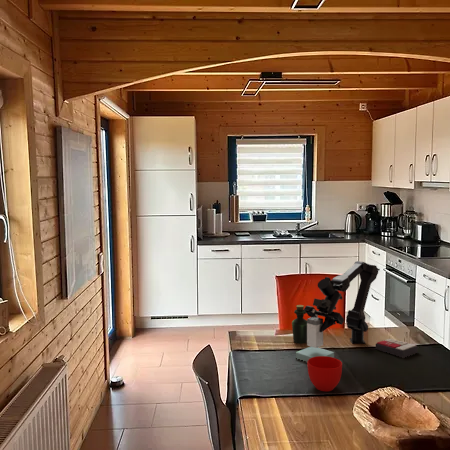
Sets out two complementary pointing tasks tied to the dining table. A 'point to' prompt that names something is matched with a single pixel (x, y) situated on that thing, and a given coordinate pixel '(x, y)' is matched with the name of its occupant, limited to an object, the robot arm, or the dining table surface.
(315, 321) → the housing
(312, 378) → the ceramic cup
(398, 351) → the red grey flat block
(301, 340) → the potion bottle
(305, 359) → the stand
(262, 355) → the dining table surface
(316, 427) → the dining table surface
